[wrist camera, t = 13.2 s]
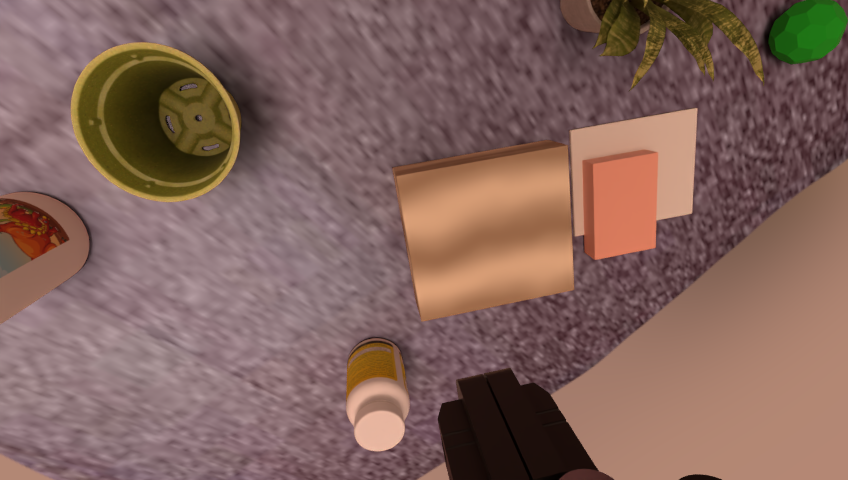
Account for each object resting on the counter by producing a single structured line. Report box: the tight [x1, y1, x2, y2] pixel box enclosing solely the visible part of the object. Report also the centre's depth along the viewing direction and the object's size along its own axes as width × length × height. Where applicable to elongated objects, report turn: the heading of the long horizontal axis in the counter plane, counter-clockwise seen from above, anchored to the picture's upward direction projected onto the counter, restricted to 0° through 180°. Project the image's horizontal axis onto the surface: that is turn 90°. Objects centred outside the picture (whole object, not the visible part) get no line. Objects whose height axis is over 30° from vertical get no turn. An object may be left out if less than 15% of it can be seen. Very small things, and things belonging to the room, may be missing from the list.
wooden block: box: [392, 140, 574, 322], centre depth 40 cm, size 13×14×4 cm
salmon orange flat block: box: [582, 149, 658, 260], centre depth 42 cm, size 9×6×2 cm, turn 9°
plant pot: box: [71, 42, 241, 202], centre depth 32 cm, size 9×9×9 cm
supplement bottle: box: [346, 338, 410, 451], centre depth 40 cm, size 5×5×10 cm
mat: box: [569, 108, 697, 236], centre depth 42 cm, size 10×12×1 cm
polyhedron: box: [768, 0, 848, 64], centre depth 38 cm, size 5×5×5 cm
